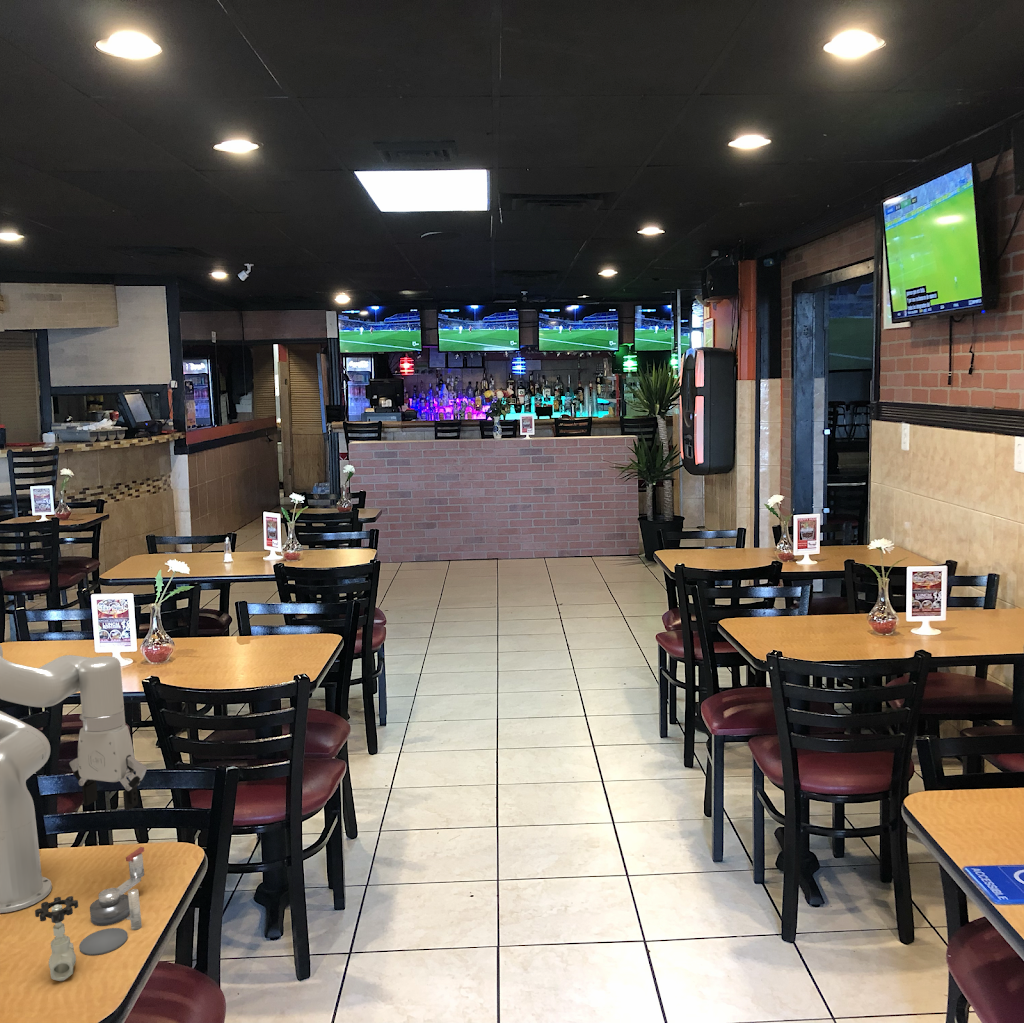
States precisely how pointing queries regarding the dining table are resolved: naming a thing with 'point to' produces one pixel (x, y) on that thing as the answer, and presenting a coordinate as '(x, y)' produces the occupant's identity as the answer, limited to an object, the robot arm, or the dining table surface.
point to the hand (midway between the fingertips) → (110, 805)
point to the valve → (59, 937)
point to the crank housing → (118, 911)
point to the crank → (136, 872)
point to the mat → (103, 941)
